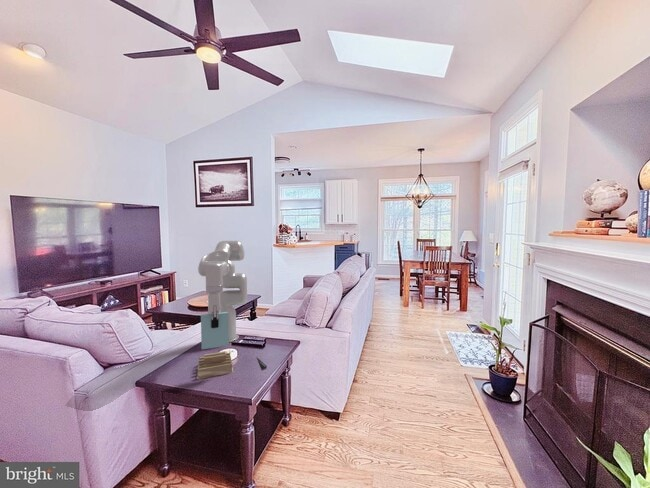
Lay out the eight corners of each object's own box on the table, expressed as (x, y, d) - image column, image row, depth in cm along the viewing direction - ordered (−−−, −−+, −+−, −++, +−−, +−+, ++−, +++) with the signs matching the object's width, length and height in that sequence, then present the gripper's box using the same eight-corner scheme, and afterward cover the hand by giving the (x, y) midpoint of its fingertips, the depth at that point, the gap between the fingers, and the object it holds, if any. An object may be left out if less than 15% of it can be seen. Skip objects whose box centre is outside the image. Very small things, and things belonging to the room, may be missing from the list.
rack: (198, 367, 142) (197, 357, 142) (230, 361, 148) (230, 351, 148) (197, 381, 128) (196, 370, 128) (233, 374, 134) (233, 364, 134)
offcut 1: (204, 368, 138) (204, 354, 138) (225, 364, 142) (225, 351, 142) (204, 369, 137) (204, 355, 137) (225, 365, 141) (225, 352, 141)
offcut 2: (204, 371, 135) (204, 357, 135) (225, 367, 139) (225, 353, 139) (204, 372, 134) (204, 358, 134) (226, 368, 138) (225, 355, 138)
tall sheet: (201, 348, 132) (200, 314, 131) (228, 344, 136) (227, 311, 136) (201, 349, 130) (200, 315, 129) (228, 345, 135) (227, 312, 134)
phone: (255, 356, 153) (267, 366, 141) (255, 358, 153) (267, 369, 141) (241, 360, 148) (252, 371, 136) (241, 362, 148) (252, 373, 136)
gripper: (205, 286, 138) (206, 323, 138) (205, 292, 123) (206, 333, 124) (221, 285, 141) (222, 321, 141) (223, 291, 126) (224, 331, 127)
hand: (214, 326), depth 133 cm, fingers closed on tall sheet, 1 cm apart
